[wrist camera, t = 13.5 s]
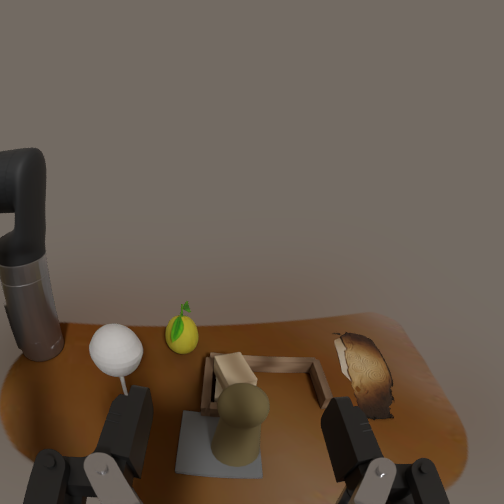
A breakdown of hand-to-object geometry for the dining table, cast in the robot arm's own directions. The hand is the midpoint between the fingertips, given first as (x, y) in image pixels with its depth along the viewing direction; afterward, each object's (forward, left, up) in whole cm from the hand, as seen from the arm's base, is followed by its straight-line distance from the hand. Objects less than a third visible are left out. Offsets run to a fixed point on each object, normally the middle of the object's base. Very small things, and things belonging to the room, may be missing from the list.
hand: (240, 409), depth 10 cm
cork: (+2, +10, -22) cm, 24 cm away
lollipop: (-12, +14, -22) cm, 29 cm away
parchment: (+26, +26, -23) cm, 43 cm away
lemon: (-7, +29, -22) cm, 37 cm away
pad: (0, +11, -22) cm, 25 cm away
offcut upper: (+2, +21, -20) cm, 28 cm away
